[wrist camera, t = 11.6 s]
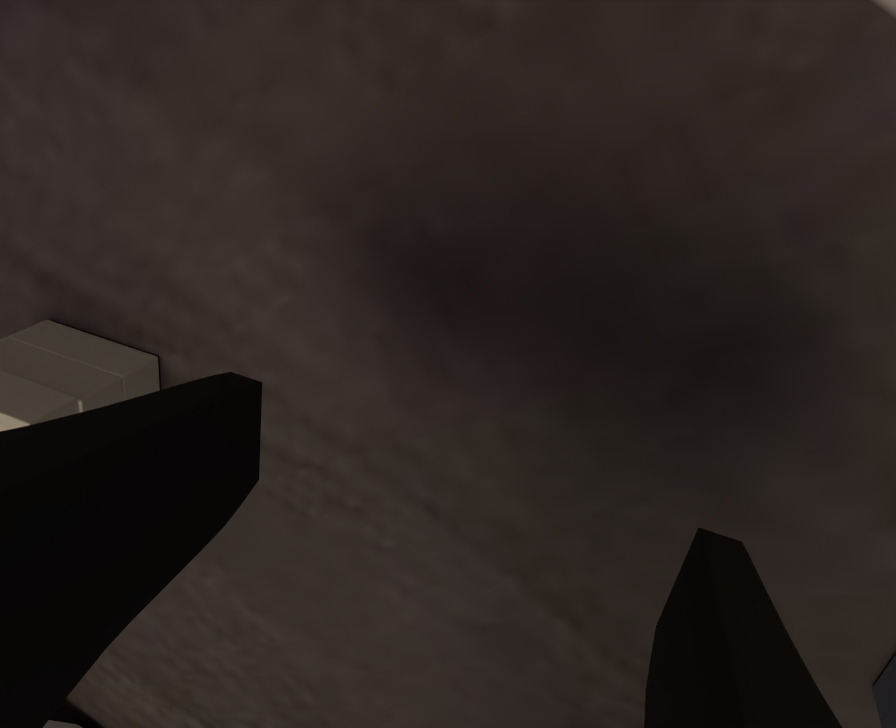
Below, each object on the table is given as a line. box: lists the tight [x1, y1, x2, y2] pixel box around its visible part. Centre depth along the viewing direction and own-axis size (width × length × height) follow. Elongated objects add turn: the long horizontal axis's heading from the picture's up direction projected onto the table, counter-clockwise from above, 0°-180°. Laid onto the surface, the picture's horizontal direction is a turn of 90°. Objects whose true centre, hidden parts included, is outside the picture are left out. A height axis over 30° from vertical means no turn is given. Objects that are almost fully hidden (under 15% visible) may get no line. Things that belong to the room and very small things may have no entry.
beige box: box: [0, 369, 79, 431], centre depth 23 cm, size 8×5×2 cm, turn 170°
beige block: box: [0, 320, 160, 413], centre depth 26 cm, size 8×5×4 cm, turn 170°
